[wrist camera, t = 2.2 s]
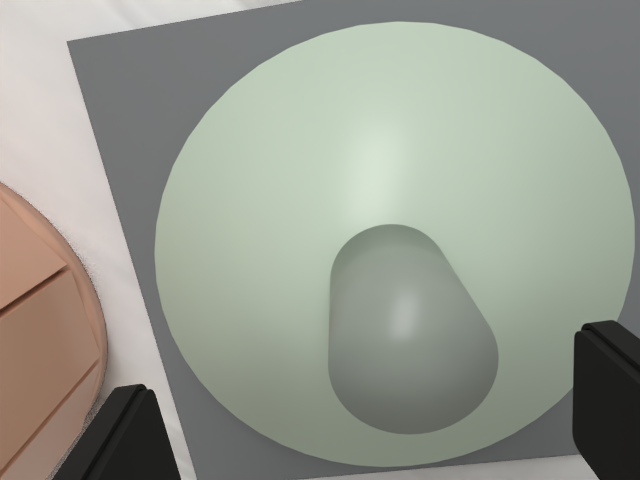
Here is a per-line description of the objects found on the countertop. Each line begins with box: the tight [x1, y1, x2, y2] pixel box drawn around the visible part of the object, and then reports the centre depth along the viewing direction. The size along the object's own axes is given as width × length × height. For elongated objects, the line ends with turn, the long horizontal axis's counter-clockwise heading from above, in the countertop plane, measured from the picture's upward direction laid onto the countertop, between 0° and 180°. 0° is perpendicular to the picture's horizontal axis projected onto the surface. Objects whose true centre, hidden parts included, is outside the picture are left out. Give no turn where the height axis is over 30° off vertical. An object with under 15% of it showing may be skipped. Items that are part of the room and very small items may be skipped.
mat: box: [66, 0, 640, 480], centre depth 17 cm, size 18×18×1 cm
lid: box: [154, 21, 635, 467], centre depth 14 cm, size 16×16×6 cm
